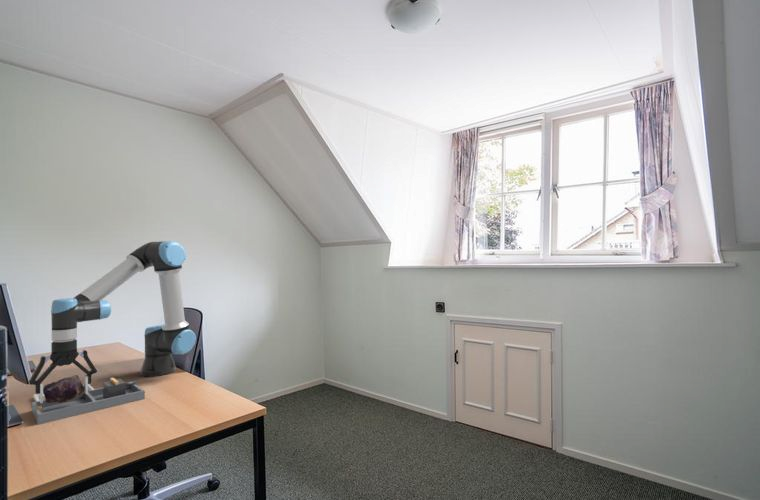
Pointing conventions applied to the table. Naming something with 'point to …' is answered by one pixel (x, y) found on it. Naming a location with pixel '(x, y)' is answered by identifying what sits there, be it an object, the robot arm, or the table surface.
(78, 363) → the robot arm
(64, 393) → the rock
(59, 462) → the table surface
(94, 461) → the table surface
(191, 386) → the table surface
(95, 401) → the holder
